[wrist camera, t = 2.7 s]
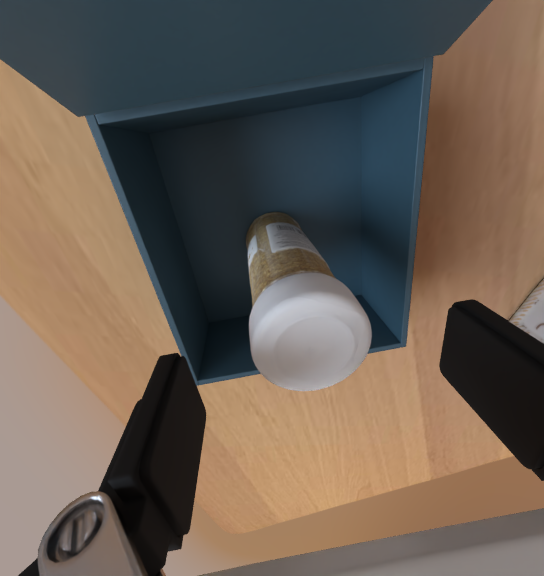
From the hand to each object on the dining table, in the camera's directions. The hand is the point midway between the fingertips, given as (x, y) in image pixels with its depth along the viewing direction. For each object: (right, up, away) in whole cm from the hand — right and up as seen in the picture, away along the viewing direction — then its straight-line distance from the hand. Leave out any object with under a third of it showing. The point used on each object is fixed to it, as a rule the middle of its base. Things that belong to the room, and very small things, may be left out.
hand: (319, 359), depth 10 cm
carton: (-2, +7, +12) cm, 14 cm away
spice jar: (-1, +6, +12) cm, 14 cm away
